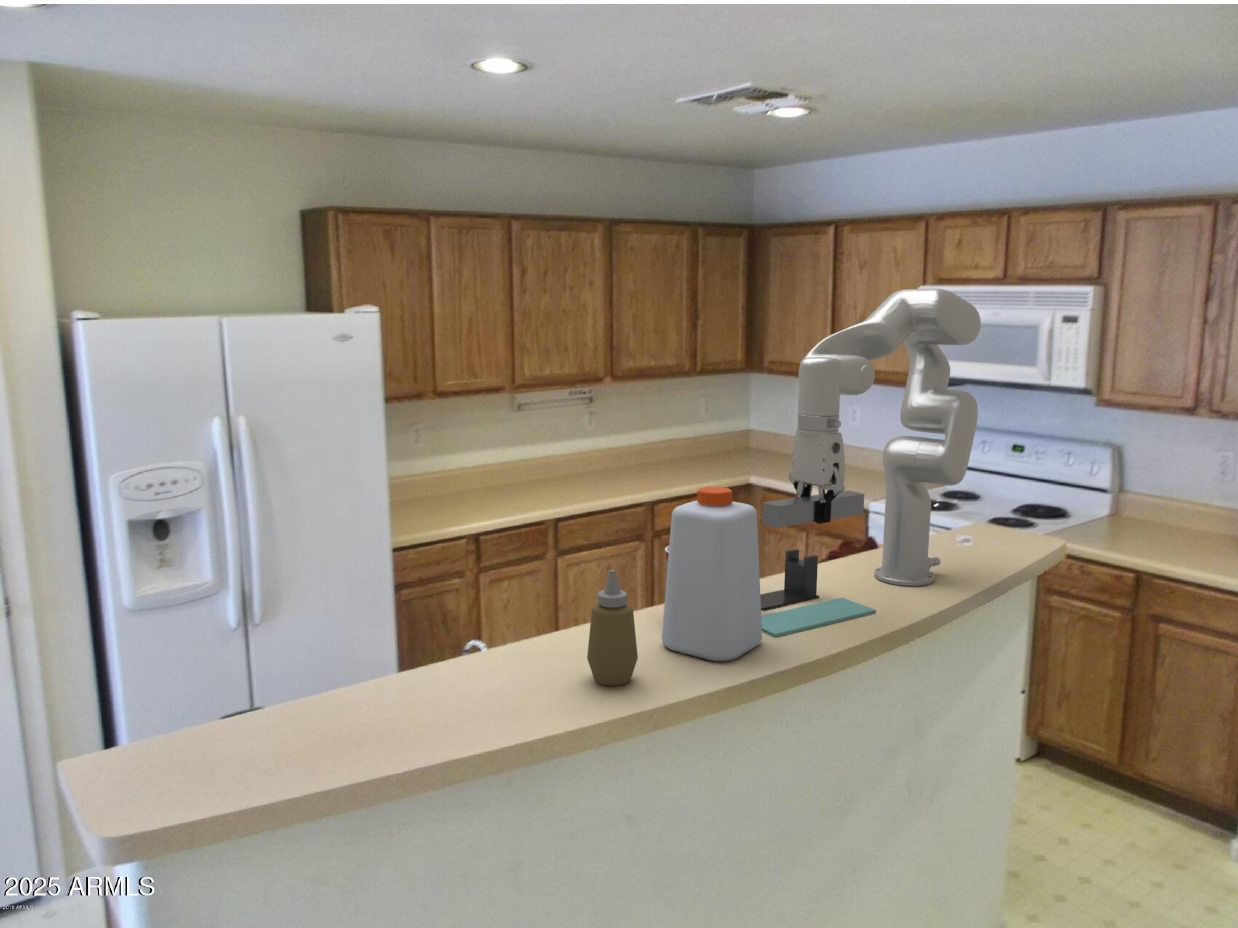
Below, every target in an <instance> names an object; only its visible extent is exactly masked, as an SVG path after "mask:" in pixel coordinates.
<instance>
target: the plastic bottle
mask: <svg viewBox="0 0 1238 928" xmlns="http://www.w3.org/2000/svg"><path fill="white" fill-rule="evenodd" d="M696 492H697V495H696V500H694V501H690V502H687V503H684V504H681V505H678V506H675V508H674V509H673V510H672V513H671V520H670V521H671V522H670V531H669V533H670V534H669V535H670V536H669V542H668V543H669V545H668V546H669V556H668V568H667V567H666V582H665V596H664V605H663V616H662V617H663V619H662V632H661V641H662V644H663V645H664V646H665V647H666V648H667V649H669V650H671V651H673V652H677V653H681V654H686V655H689V656H691V657H692V656H693V657H697V658H700V659H704V660H707V661H713V662H729V661H733V660H736V659H738V658H740V657H741V656H742V655H743V656H744V654H746V653H748V652H749V651H751V650H753V649H754V648H756V647H757V646H759V645H760V644H761V642H762V639H763V632H762V622H761V616H762V611H761V599H760V594H761V582H760V581H761V579H760V577H761V576H760V575H761V574H760V558H759V556H760V555H759V533H758V514H757V513H758V512H757V510H756V508H755V507H754V506H753V505H751V504H748V503H743V502H737V501H733V495H734V494H733V491H732V489H730V488H728V487H724V486H704V487H700V488H699V489H698V490H697V491H696Z"/></svg>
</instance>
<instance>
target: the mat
mask: <svg viewBox="0 0 1238 928" xmlns="http://www.w3.org/2000/svg"><path fill="white" fill-rule="evenodd" d="M876 613H877V609H875V608H872V607H870V606H867V605H865V604H862V603H858V602H856V601H853V600H850V599H847V598H844V597H838V598H833V599H830V600H825V601H821V602H817V603H812V604H808V605H804V606H798V607H793V608H790V609H785V610H780V611H776V612H771V613H767V614H761V622H762V633H765V634H766V635H769V636H771V637H774V638H777V637H781V636H785V635H790V634H794V633H797V632H802V631H805V630H809V629H815V628H819V627H822V626H827V625H830V624H835V623H839V622H843V621H848V620H851V619H855V618H860V617H864V616H868V615H872V614H876Z"/></svg>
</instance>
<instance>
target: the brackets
mask: <svg viewBox="0 0 1238 928" xmlns="http://www.w3.org/2000/svg"><path fill="white" fill-rule="evenodd" d="M818 557H819V555H816V554H812V555H807V556H803V559H800V549H798V548H794V549H788V550H785V558H784V559H785V560H784V582H783V583H784V585H783V587H784V588H783V589H781V590H776V591H771V592H767V593H766V592H765V593H762V594H761V593H760V599H761V612H762V611H767V610H772V609H777V608H781V607H785V606H789V605H794V604H799V603H804V602H807V601H809V602H810V601H812V600H817V599H818V600H819V599H820V595H818V594H817V593H818V591H817V589H818V587H817V586H818V562H819V561H818V560H819V559H818Z"/></svg>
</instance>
